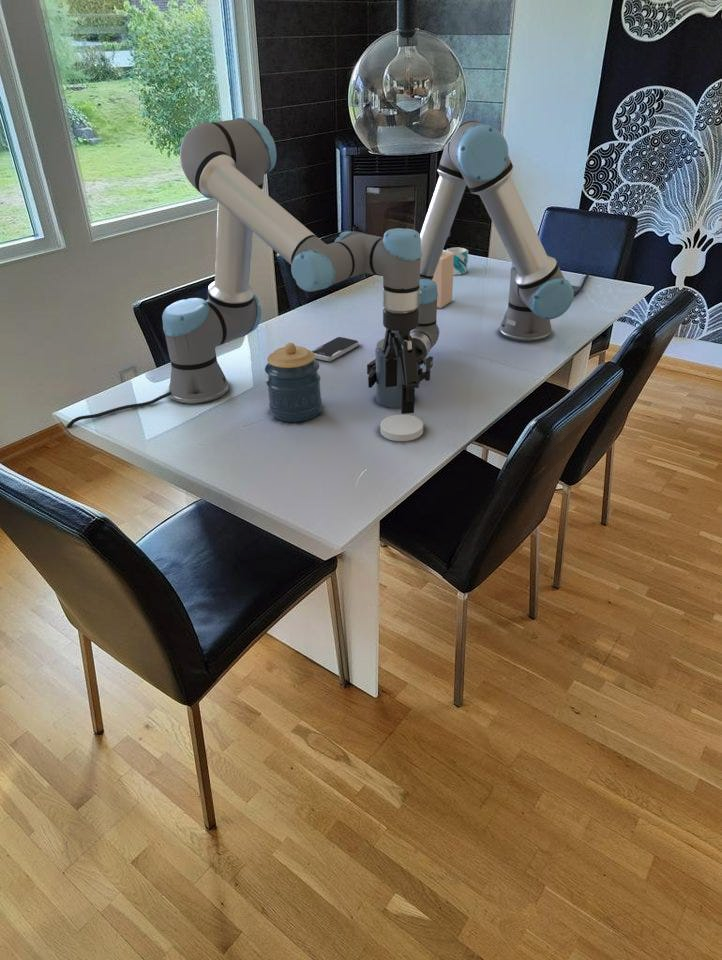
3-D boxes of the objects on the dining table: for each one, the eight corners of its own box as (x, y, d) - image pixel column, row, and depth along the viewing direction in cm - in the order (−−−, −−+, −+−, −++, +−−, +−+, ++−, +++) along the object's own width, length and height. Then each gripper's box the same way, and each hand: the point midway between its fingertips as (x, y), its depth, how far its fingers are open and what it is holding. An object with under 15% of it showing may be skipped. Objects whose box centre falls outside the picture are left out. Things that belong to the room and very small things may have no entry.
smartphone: (359, 341, 201) (329, 357, 190) (359, 345, 201) (329, 362, 191) (338, 336, 204) (308, 352, 194) (339, 340, 205) (308, 357, 195)
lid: (376, 439, 153) (375, 432, 152) (385, 419, 161) (385, 412, 160) (418, 443, 151) (418, 436, 150) (426, 423, 159) (426, 416, 158)
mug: (441, 273, 261) (442, 251, 257) (455, 265, 270) (456, 243, 265) (461, 275, 257) (462, 253, 253) (474, 267, 266) (475, 246, 261)
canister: (275, 426, 159) (266, 357, 150) (266, 403, 170) (257, 337, 160) (328, 418, 162) (323, 349, 153) (316, 396, 173) (310, 330, 163)
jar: (370, 404, 168) (368, 347, 160) (385, 389, 175) (384, 334, 167) (404, 410, 165) (404, 353, 156) (418, 395, 171) (419, 339, 163)
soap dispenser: (441, 308, 227) (443, 241, 215) (418, 304, 231) (419, 238, 219) (457, 297, 236) (460, 232, 224) (435, 294, 240) (437, 230, 228)
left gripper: (437, 327, 131) (432, 422, 143) (401, 287, 151) (399, 374, 163) (400, 331, 129) (398, 427, 141) (369, 290, 149) (369, 377, 161)
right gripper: (452, 367, 179) (432, 404, 162) (375, 359, 186) (347, 393, 168) (454, 341, 175) (433, 375, 158) (374, 333, 182) (346, 366, 164)
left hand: (398, 399), depth 152 cm, fingers open, 13 cm apart
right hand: (389, 384), depth 163 cm, fingers closed on jar, 9 cm apart
